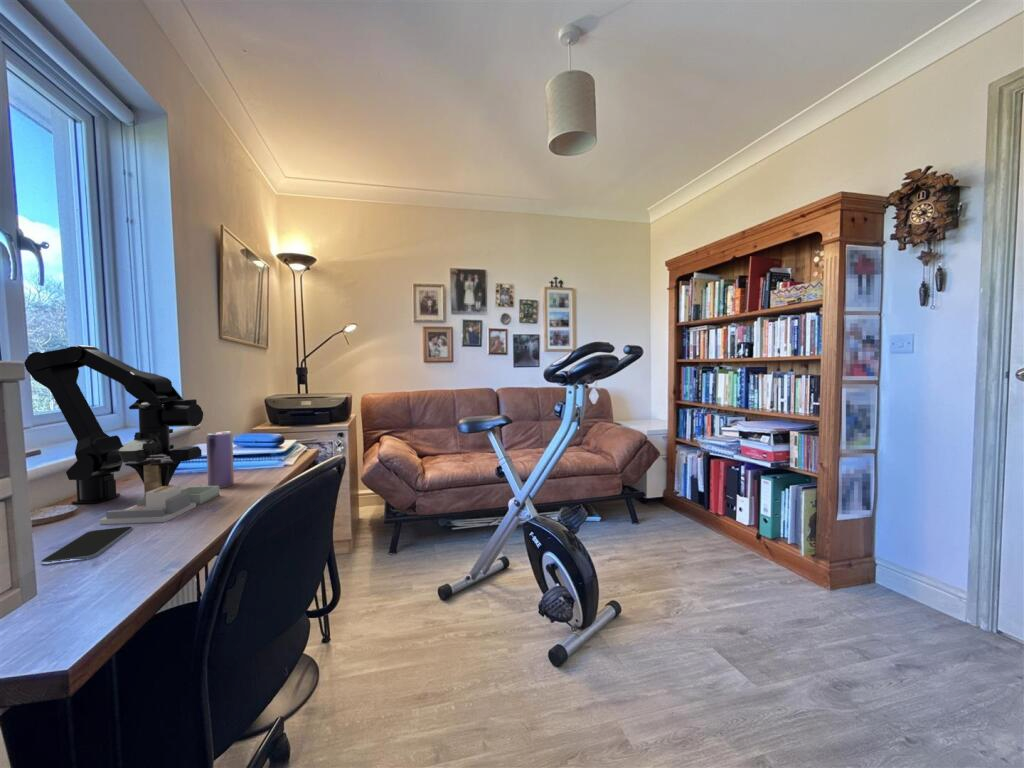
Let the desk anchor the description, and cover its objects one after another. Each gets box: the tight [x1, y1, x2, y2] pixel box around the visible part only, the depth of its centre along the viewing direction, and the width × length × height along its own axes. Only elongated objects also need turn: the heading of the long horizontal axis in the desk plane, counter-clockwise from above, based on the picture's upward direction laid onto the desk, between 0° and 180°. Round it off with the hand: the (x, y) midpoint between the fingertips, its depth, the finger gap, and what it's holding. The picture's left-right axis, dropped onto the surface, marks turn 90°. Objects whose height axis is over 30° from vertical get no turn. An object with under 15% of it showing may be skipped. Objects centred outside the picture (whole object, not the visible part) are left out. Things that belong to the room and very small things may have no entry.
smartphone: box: [40, 525, 133, 563], centre depth 79 cm, size 7×1×15 cm
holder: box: [181, 485, 220, 506], centre depth 105 cm, size 8×8×2 cm
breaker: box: [146, 484, 182, 512], centre depth 94 cm, size 4×5×5 cm
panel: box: [99, 492, 197, 525], centre depth 94 cm, size 13×10×4 cm
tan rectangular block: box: [143, 458, 170, 498], centre depth 105 cm, size 3×3×10 cm
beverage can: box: [205, 430, 235, 489], centre depth 117 cm, size 6×6×15 cm
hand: (156, 488), depth 106 cm, fingers closed on tan rectangular block, 3 cm apart
